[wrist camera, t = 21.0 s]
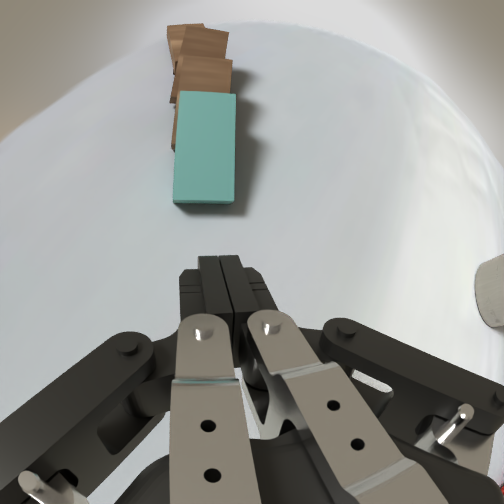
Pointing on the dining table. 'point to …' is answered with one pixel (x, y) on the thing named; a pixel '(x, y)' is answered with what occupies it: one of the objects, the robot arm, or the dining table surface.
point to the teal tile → (205, 148)
